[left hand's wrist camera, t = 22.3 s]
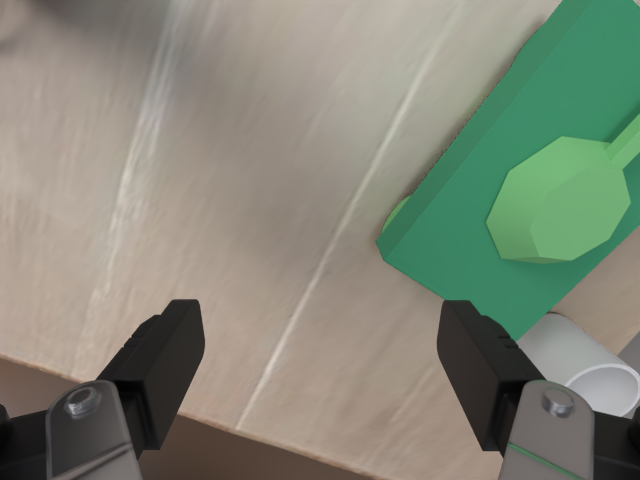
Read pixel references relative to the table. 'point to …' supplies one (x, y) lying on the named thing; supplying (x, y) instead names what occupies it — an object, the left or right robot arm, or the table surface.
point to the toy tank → (534, 173)
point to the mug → (581, 364)
